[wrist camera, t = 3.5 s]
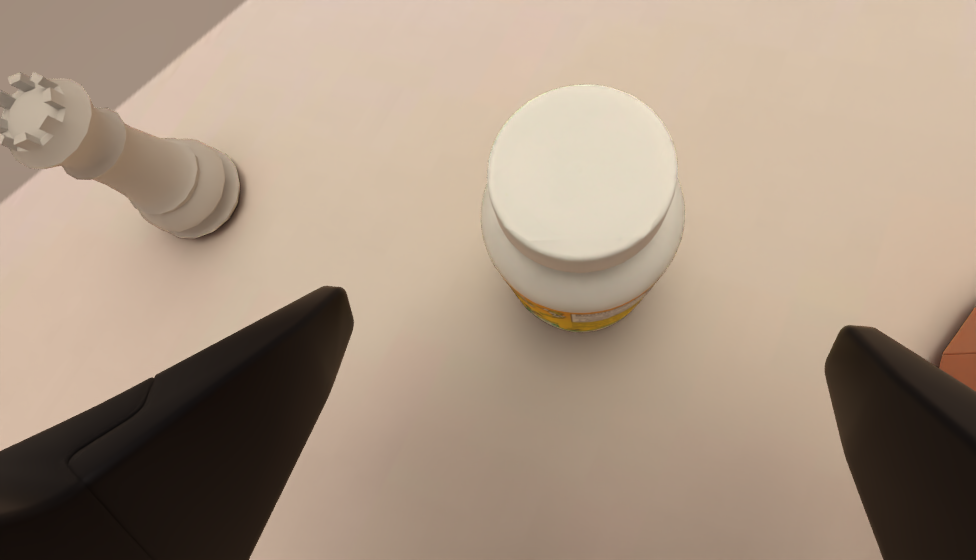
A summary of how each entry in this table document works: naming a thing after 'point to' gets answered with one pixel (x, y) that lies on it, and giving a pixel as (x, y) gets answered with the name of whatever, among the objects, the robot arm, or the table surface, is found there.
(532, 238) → the supplement bottle
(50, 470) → the robot arm
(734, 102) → the table surface
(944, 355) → the bowl
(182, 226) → the rook chess piece
